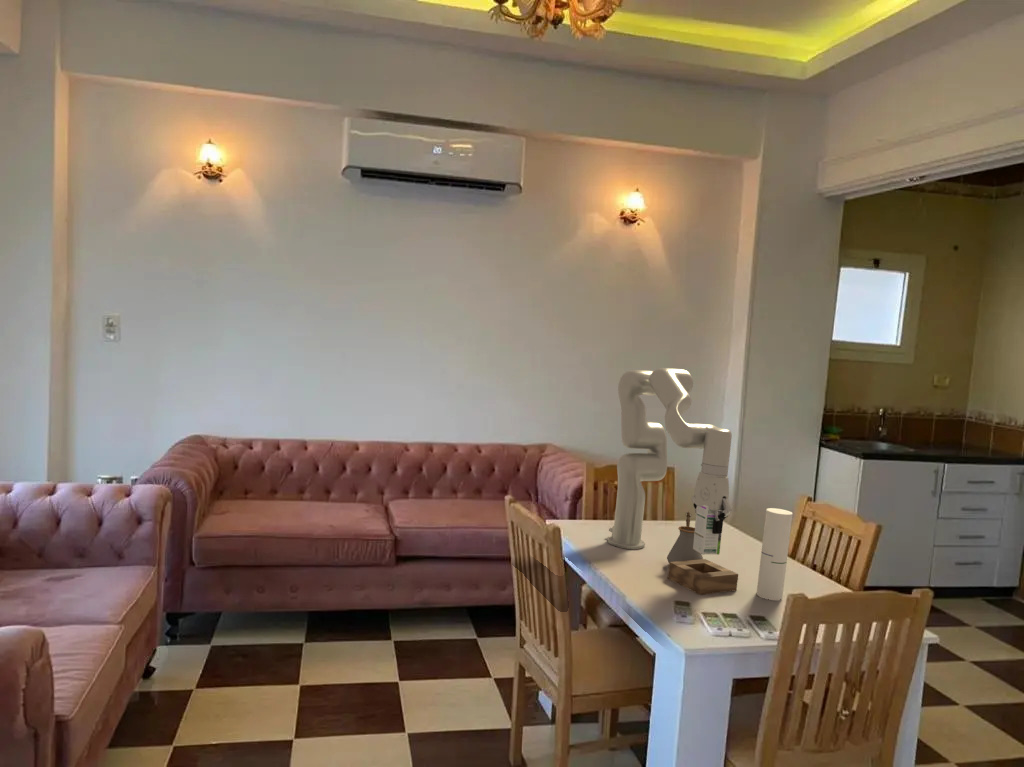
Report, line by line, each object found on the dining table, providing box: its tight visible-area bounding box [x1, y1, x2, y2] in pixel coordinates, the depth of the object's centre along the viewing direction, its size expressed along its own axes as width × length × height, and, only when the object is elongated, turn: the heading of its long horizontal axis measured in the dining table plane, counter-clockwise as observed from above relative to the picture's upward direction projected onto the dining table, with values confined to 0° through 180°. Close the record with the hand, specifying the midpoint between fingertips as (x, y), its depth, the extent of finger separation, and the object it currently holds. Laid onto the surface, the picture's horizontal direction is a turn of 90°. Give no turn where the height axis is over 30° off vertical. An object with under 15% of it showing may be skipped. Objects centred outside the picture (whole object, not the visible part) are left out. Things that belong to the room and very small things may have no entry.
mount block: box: [667, 558, 739, 596], centre depth 224 cm, size 14×14×5 cm
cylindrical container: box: [756, 507, 794, 601], centre depth 218 cm, size 7×7×25 cm
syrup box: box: [693, 504, 724, 556], centre depth 223 cm, size 6×6×14 cm
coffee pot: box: [666, 511, 704, 565], centre depth 242 cm, size 21×12×15 cm, turn 168°
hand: (708, 529), depth 223 cm, fingers closed on syrup box, 6 cm apart
